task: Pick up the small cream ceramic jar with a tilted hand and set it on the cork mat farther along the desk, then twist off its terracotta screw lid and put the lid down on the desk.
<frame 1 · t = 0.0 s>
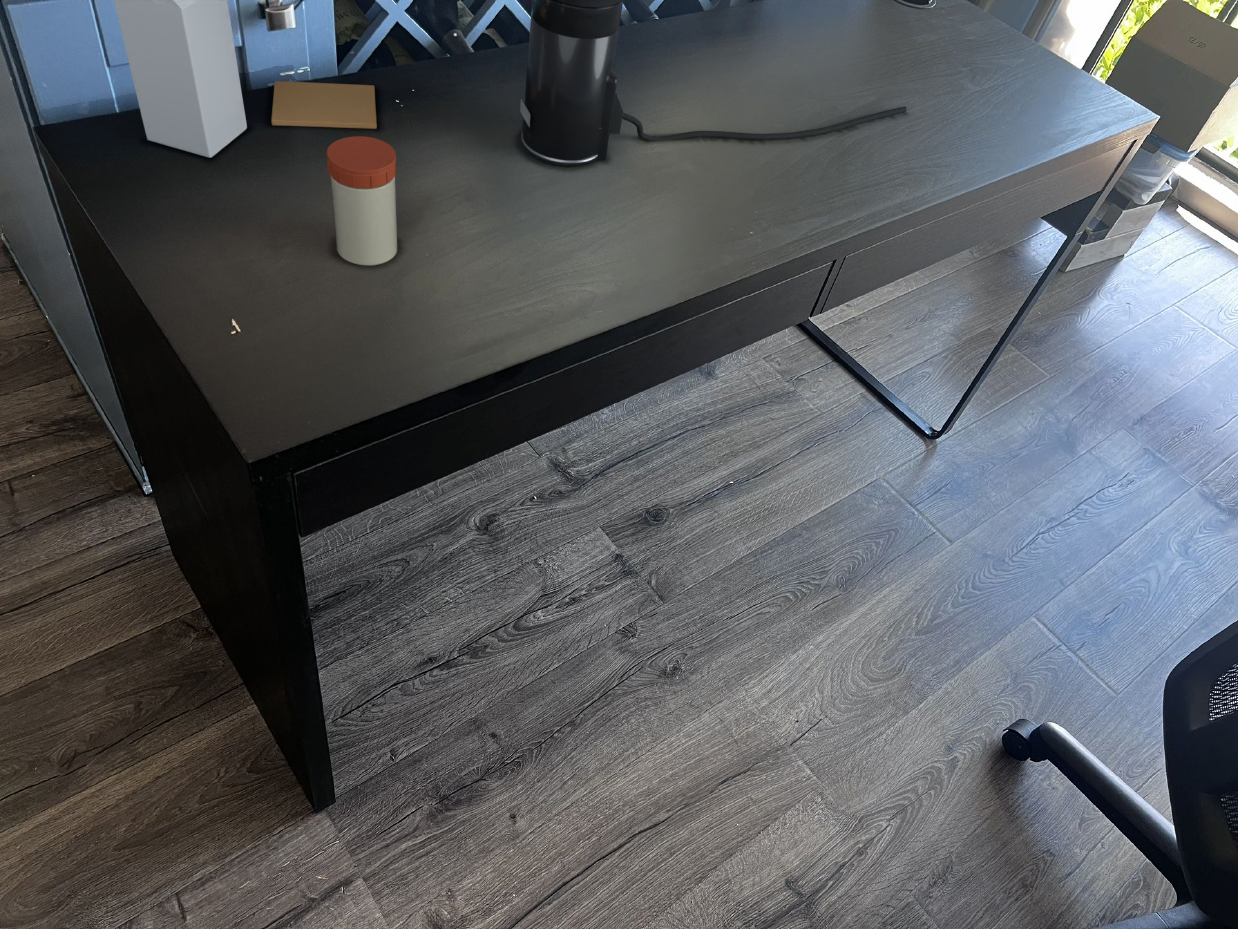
milk carton: (199, 137, 98), on the table
mat: (325, 107, 106), on the table
jar: (367, 248, 89), on the table
lid: (361, 157, 82), point 9 cm above the table, screwed on, not yet turned
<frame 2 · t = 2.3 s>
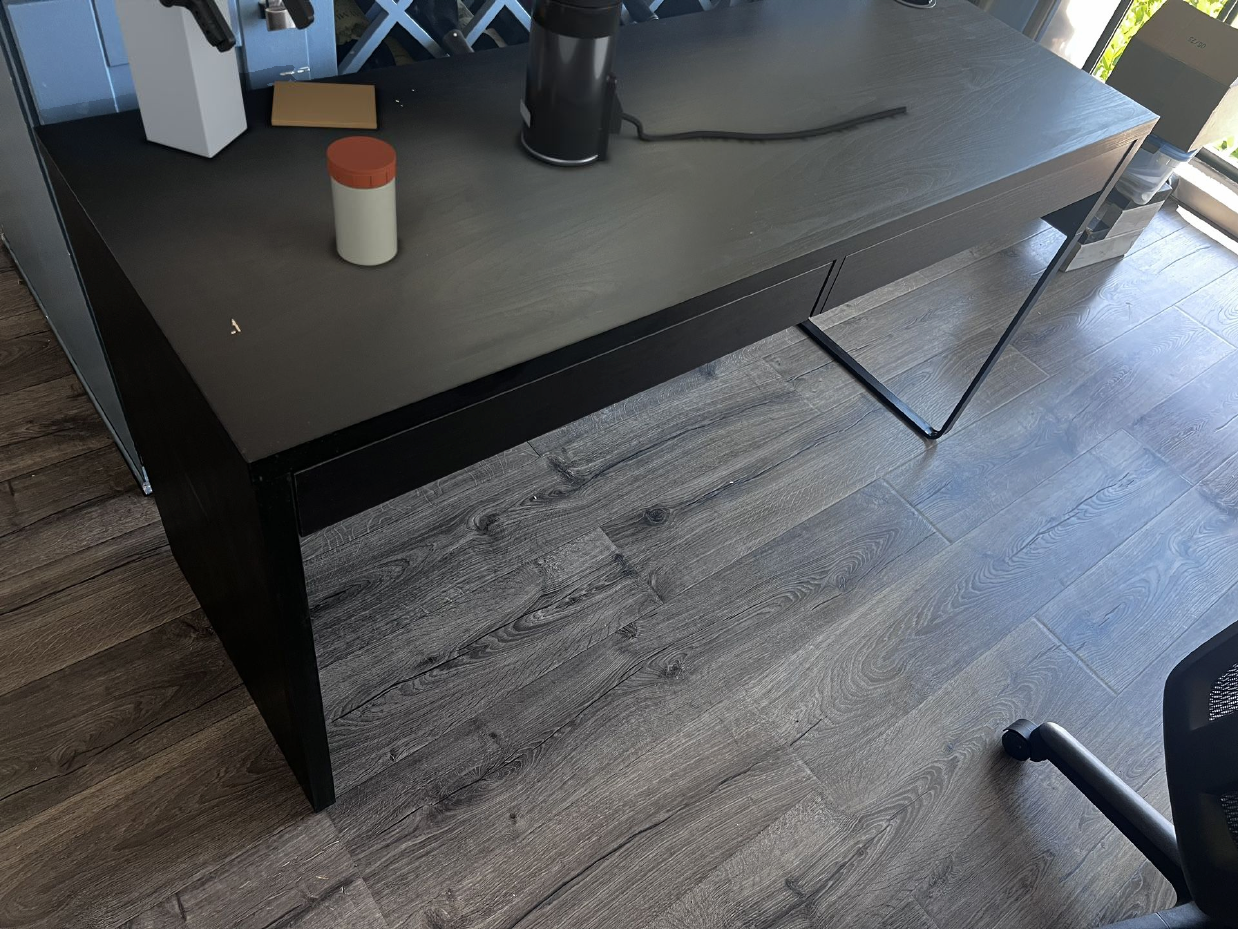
hand: (269, 36, 82), 16 cm above the table, tool tilted 40°, fingers open, 8 cm apart
nothing on the table moved.
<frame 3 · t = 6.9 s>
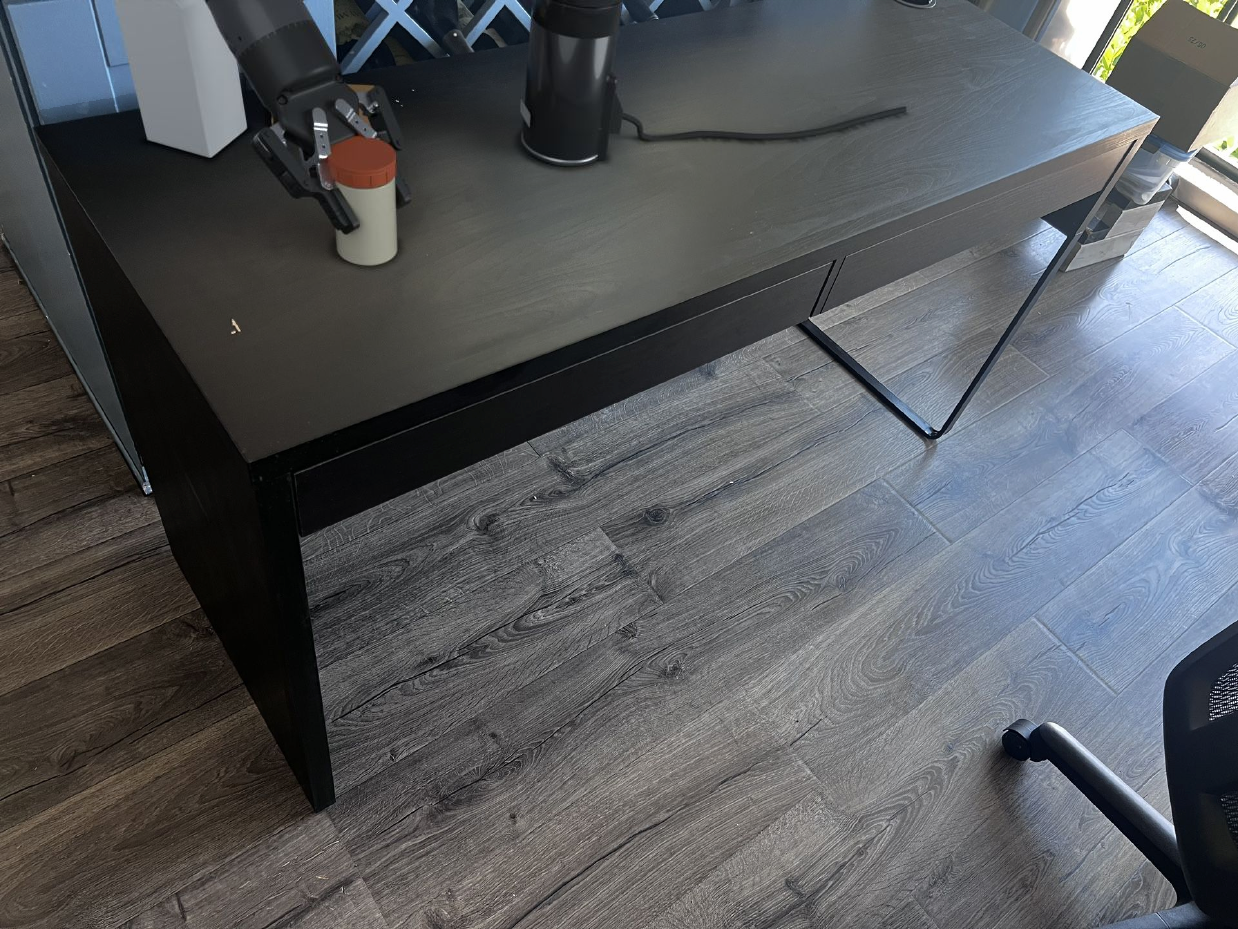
hand: (378, 217, 86), 4 cm above the table, tool tilted 45°, fingers closed on jar, 5 cm apart
jar: (367, 248, 89), on the table, touching gripper
everything else where it was.
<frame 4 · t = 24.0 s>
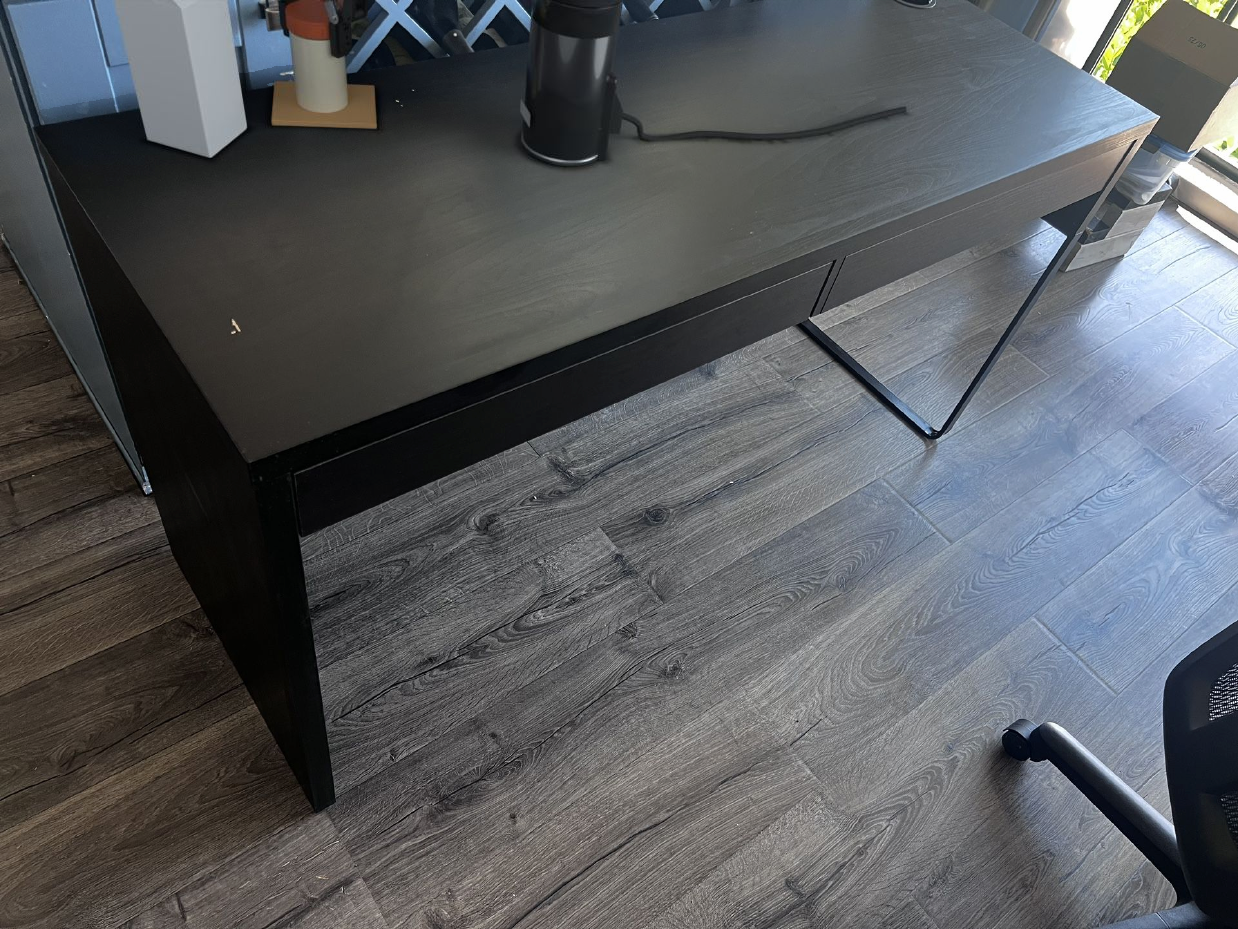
hand: (316, 44, 101), 7 cm above the table, tool pointing down, fingers closed on lid, 5 cm apart
jar: (322, 100, 106), point 1 cm above the table, touching mat
lid: (314, 14, 99), point 10 cm above the table, screwed on, not yet turned, touching gripper
everything else where it was.
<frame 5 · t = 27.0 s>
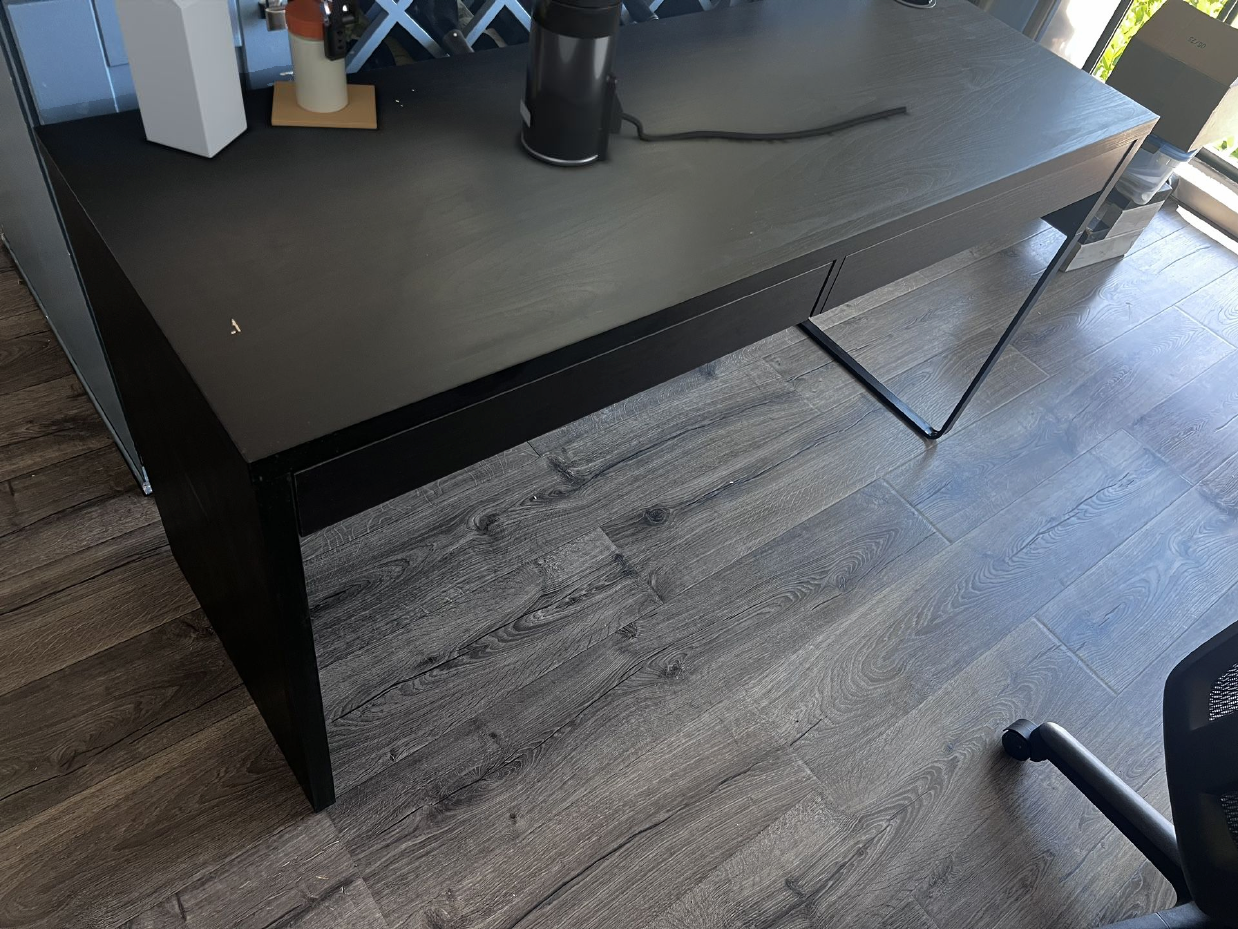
hand: (318, 45, 101), 7 cm above the table, tool pointing down, fingers closed on lid, 5 cm apart
jar: (322, 99, 105), point 1 cm above the table, touching gripper, mat
lid: (314, 13, 98), point 10 cm above the table, off its thread, touching gripper
everything else where it was.
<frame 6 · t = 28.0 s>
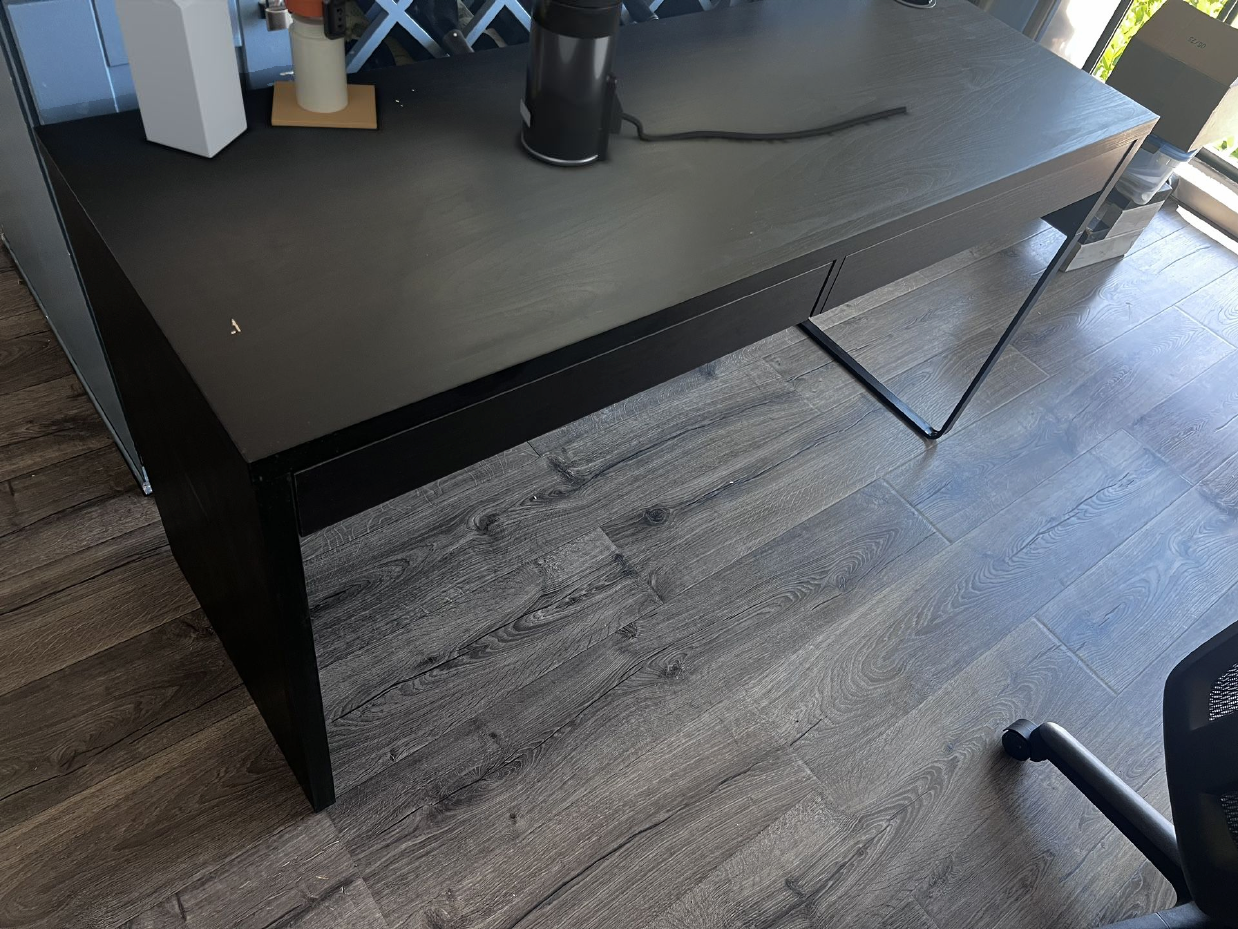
hand: (317, 25, 99), 9 cm above the table, tool pointing down, fingers closed on lid, 5 cm apart
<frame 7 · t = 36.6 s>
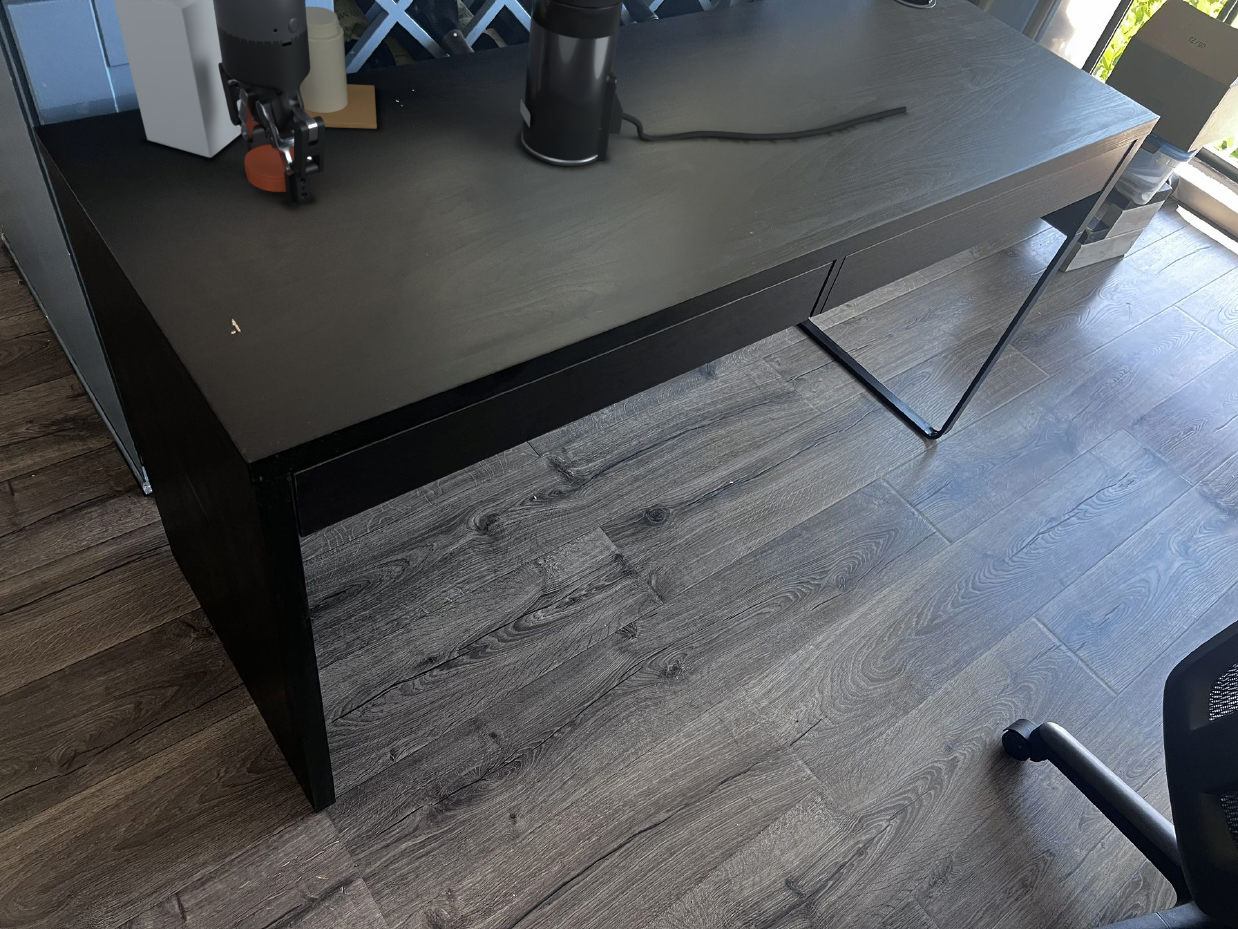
hand: (281, 187, 94), 0 cm above the table, tool pointing down, fingers closed on lid, 5 cm apart
jar: (322, 100, 106), point 1 cm above the table, touching mat
lid: (276, 163, 92), point 3 cm above the table, off its thread, touching gripper
everything else where it was.
when the fingers open (0 cm above the table, at t = 36.7 s): lid drops 1 cm, point 1 cm above the table.
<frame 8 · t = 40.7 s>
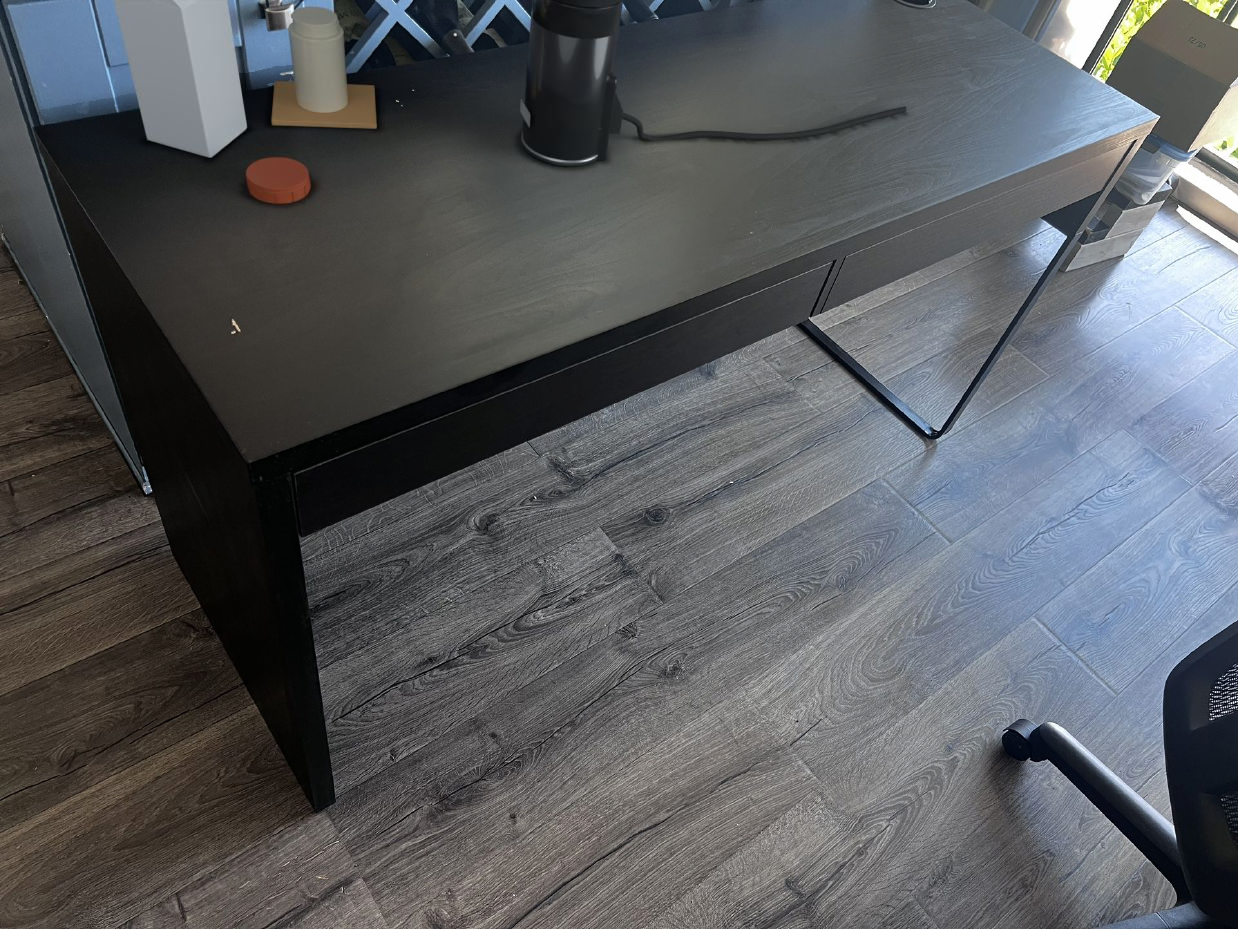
lid: (278, 176, 93), point 1 cm above the table, off its thread
everything else where it was.
at the end: jar inside the target area on the mat (0.4 cm from its centre), point 0.6 cm above the mat's base; lid point 1.3 cm above the table; the gripper is holding nothing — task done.
